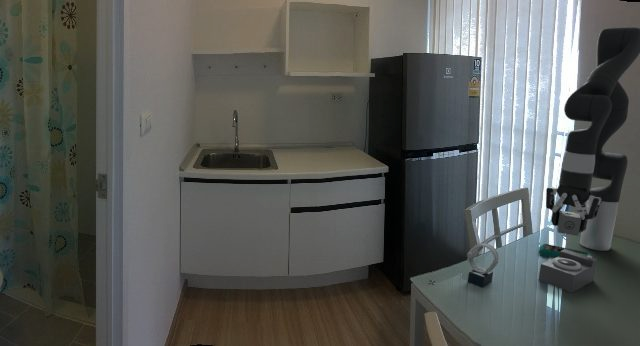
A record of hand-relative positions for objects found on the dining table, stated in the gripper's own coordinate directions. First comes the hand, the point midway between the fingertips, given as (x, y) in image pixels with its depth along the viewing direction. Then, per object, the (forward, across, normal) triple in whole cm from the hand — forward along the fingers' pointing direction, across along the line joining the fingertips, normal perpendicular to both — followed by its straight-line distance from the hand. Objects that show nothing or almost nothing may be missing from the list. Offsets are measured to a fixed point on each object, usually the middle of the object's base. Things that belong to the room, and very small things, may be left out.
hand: (567, 228), depth 126 cm
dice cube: (+1, 0, 0) cm, 1 cm away
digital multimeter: (+16, +8, -20) cm, 27 cm away
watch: (+16, +11, +22) cm, 29 cm away
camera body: (+15, -1, -2) cm, 16 cm away
